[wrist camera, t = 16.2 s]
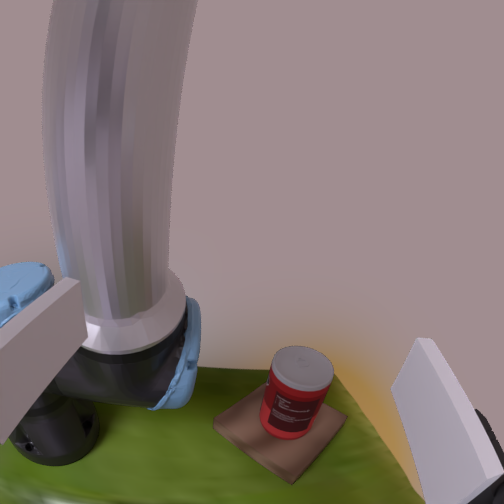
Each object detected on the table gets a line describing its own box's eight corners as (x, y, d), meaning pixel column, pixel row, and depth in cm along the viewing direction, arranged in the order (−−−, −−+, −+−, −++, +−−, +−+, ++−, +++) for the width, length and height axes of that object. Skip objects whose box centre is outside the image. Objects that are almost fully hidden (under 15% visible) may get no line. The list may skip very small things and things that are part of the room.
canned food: (292, 395, 43) (310, 340, 39) (322, 430, 36) (347, 376, 33) (248, 408, 39) (260, 351, 36) (275, 449, 33) (295, 395, 29)
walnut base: (212, 428, 38) (213, 418, 37) (272, 385, 48) (275, 375, 47) (291, 484, 30) (296, 476, 29) (342, 425, 40) (347, 416, 39)
